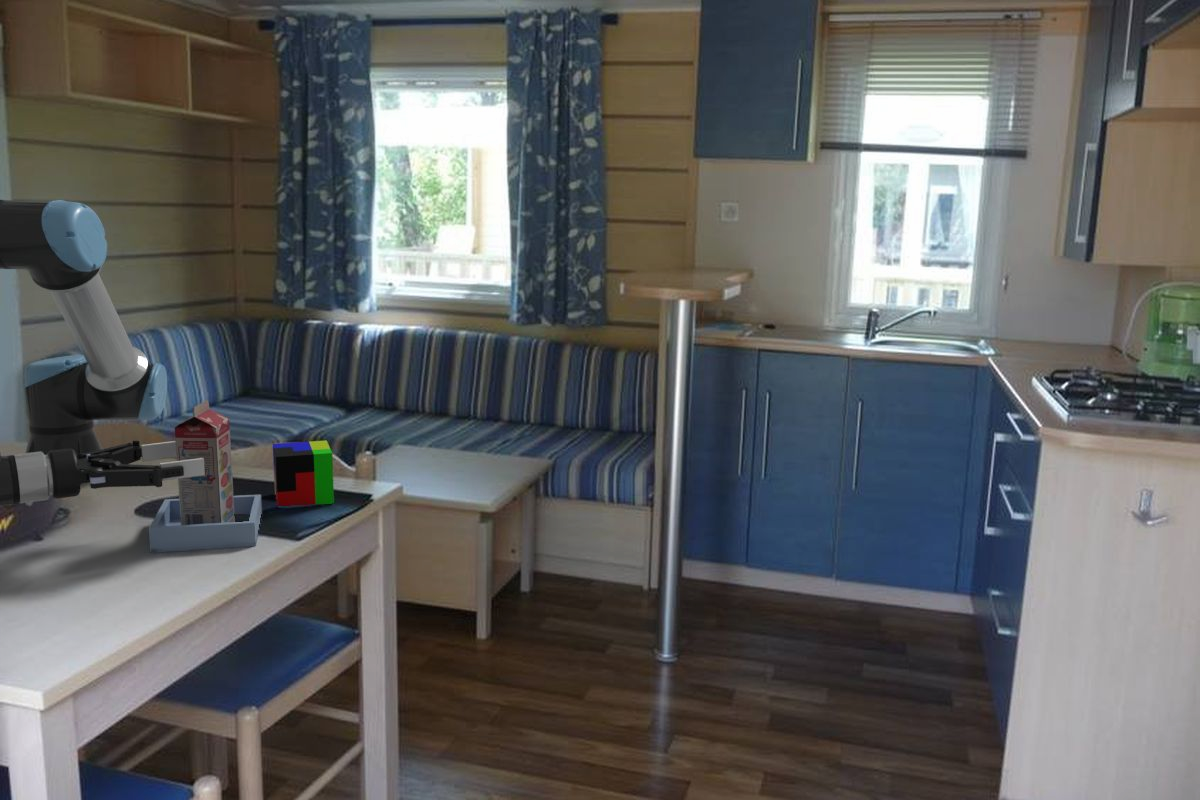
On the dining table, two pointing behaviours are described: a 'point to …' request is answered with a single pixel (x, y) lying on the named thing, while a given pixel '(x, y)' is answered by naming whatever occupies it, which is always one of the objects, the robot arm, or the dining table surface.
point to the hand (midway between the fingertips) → (193, 457)
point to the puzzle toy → (303, 473)
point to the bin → (204, 528)
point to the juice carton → (206, 467)
